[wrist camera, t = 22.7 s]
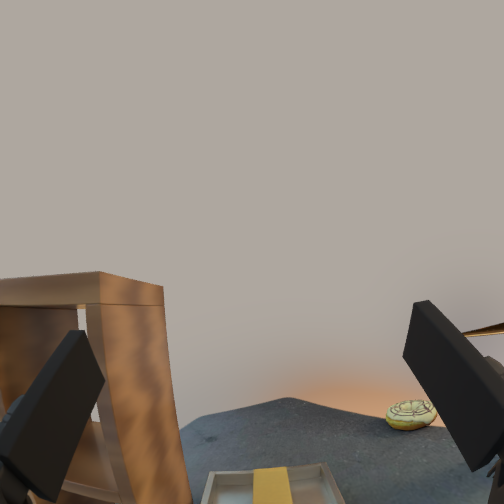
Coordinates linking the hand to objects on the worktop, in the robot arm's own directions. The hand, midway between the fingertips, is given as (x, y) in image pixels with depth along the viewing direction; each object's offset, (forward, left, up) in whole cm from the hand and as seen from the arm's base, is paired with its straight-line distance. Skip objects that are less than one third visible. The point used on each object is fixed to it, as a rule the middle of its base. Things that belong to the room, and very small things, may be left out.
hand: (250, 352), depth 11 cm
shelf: (-16, +11, -26) cm, 32 cm away
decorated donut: (+25, +44, -26) cm, 57 cm away
